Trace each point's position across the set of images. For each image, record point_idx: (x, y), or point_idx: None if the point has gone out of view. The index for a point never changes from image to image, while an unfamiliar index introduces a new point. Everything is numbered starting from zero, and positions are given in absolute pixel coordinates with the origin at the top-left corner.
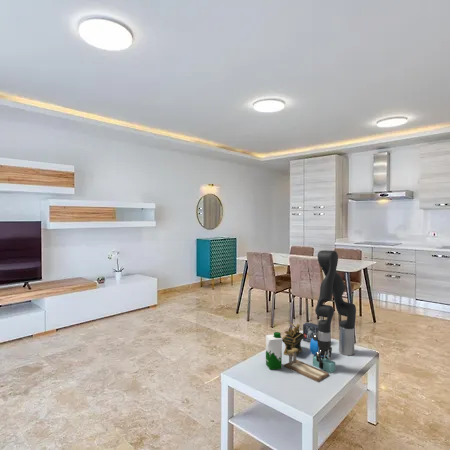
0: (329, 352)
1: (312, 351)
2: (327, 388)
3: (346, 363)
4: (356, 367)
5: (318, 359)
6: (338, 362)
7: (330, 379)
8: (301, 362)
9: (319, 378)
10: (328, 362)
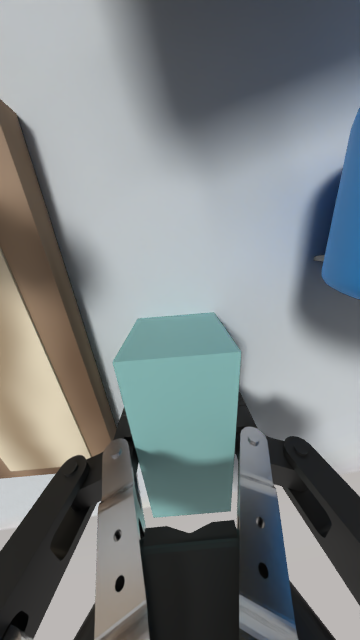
0: (334, 553)
1: (357, 158)
2: (20, 503)
3: (356, 422)
4: (336, 466)
5: (72, 496)
6: (340, 392)
7: None
8: (22, 239)
9: (14, 476)
10: (172, 496)
